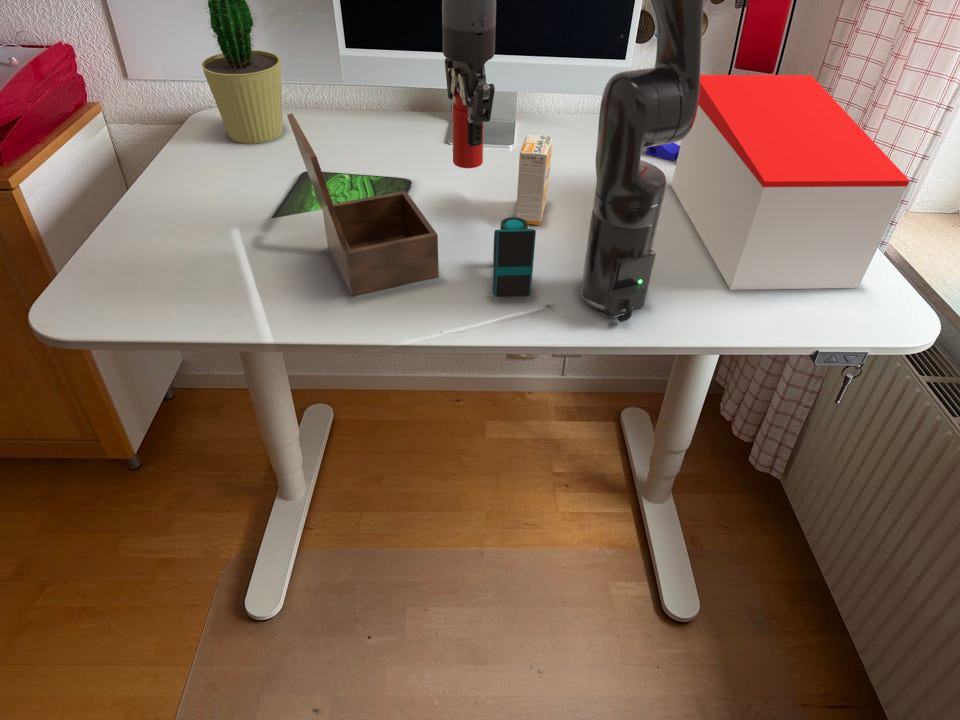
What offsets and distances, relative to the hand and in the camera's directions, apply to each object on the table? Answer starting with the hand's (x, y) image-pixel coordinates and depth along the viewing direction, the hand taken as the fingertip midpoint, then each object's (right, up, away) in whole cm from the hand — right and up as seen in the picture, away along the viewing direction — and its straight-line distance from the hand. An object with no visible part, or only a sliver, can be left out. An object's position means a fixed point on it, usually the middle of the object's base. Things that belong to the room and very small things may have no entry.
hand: (468, 137), depth 105 cm
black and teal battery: (+6, -23, 0) cm, 24 cm away
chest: (-14, -20, +2) cm, 24 cm away
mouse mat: (-23, -9, +15) cm, 29 cm away
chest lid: (-21, -10, -11) cm, 25 cm away
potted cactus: (-47, +14, +40) cm, 63 cm away
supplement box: (+11, -9, +16) cm, 21 cm away
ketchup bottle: (0, -3, +3) cm, 4 cm away
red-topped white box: (+50, -12, +13) cm, 53 cm away
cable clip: (+43, +7, +35) cm, 56 cm away
